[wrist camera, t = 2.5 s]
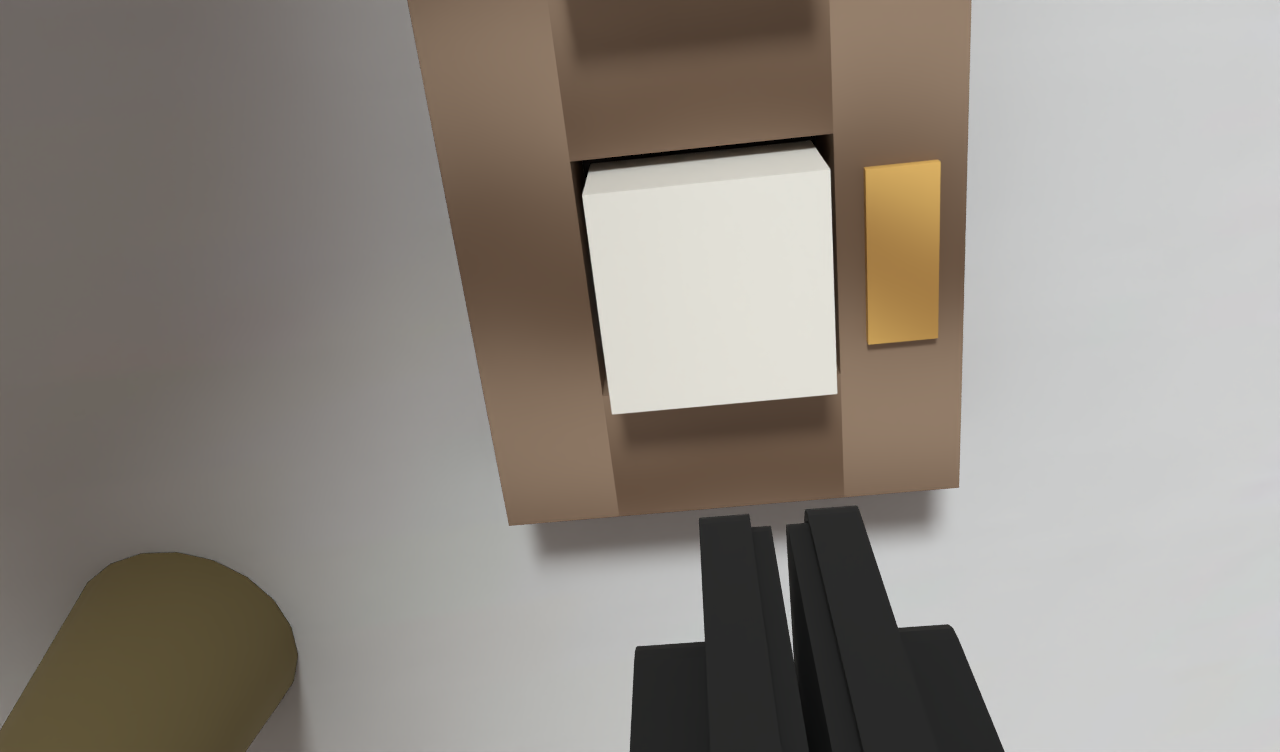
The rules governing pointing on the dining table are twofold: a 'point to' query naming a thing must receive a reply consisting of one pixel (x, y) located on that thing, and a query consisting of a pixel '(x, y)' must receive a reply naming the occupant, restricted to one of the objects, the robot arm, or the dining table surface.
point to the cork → (158, 663)
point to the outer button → (714, 276)
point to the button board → (685, 119)
